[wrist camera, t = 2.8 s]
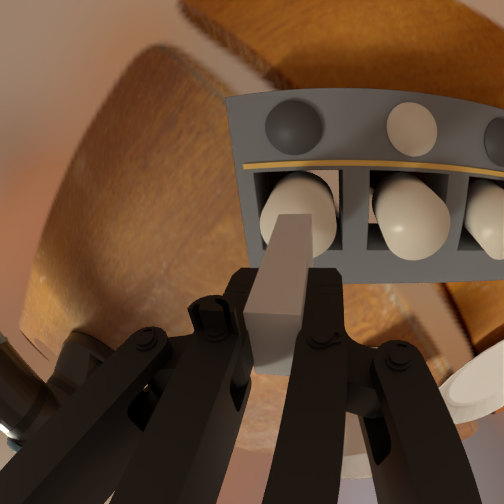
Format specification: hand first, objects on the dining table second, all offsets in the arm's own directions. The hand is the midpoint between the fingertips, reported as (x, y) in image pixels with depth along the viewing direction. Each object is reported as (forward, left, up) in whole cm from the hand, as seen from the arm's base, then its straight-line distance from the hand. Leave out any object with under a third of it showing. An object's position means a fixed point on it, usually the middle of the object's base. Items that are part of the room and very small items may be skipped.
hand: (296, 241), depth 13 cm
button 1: (0, 0, -5) cm, 5 cm away
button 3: (+13, 0, -5) cm, 14 cm away
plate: (+26, -24, -8) cm, 37 cm away
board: (+6, +1, -8) cm, 10 cm away
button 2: (+6, 0, -5) cm, 8 cm away
